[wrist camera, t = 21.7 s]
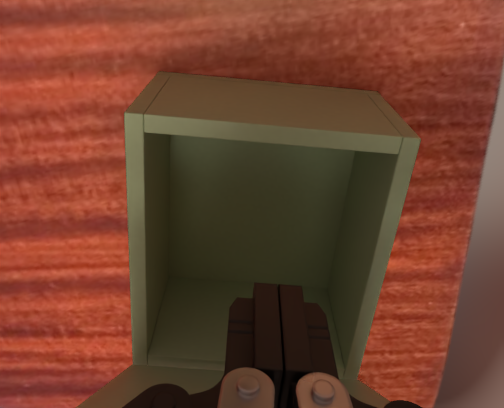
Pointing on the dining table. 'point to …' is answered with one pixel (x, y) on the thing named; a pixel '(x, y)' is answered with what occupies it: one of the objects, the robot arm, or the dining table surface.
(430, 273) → the dining table surface
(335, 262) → the chest
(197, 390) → the lid
